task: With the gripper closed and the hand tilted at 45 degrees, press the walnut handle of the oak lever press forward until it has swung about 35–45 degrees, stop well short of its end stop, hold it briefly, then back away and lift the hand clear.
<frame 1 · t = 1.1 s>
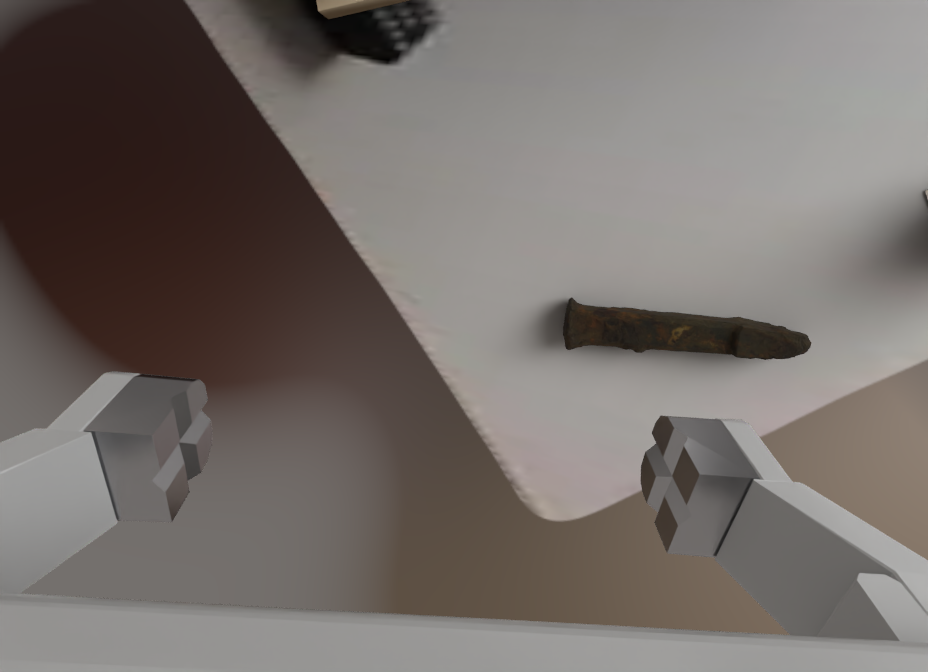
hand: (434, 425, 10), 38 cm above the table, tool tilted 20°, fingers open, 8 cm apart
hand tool: (677, 319, 46), on the table
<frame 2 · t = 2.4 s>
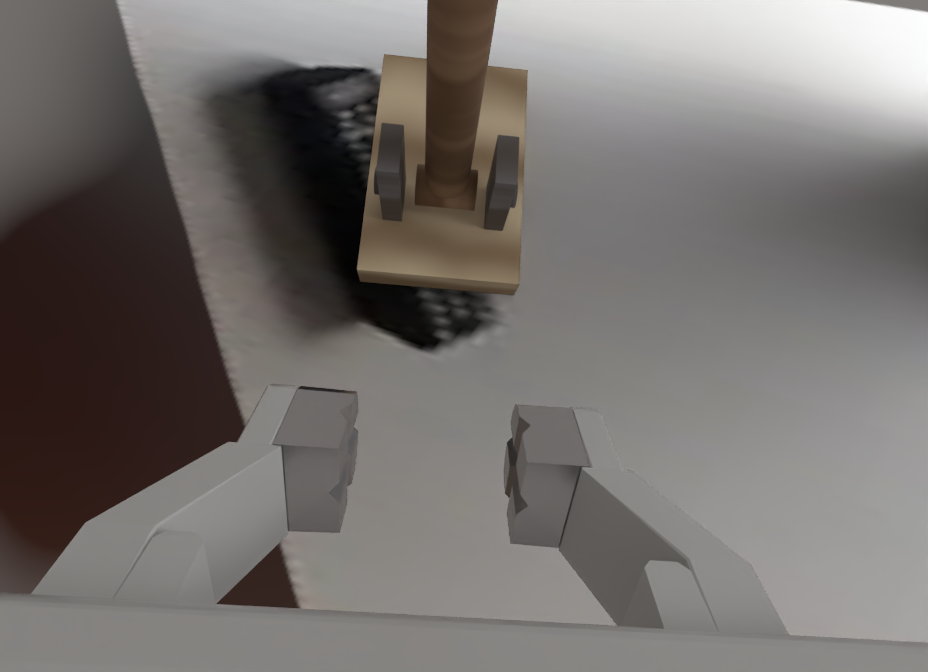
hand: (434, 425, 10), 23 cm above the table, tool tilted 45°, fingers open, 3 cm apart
lever: (457, 52, 23), point 15 cm above the table, hinge at 0.0°
press base: (443, 218, 37), on the table
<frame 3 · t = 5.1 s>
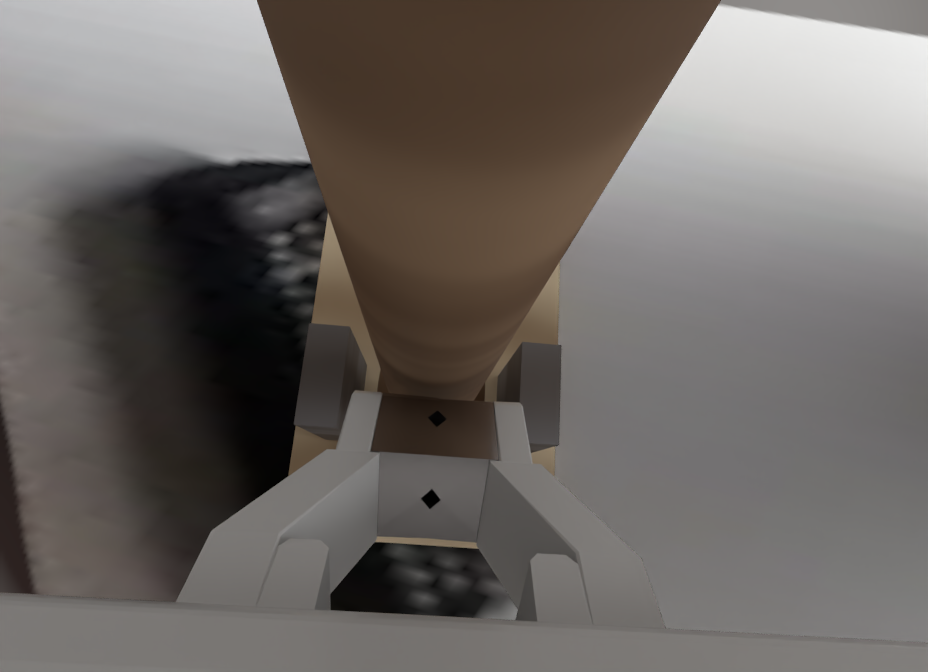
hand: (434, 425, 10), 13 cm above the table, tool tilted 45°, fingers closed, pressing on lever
lever: (441, 304, 9), point 15 cm above the table, hinge at 0.3°, touching gripper
press base: (428, 414, 23), on the table
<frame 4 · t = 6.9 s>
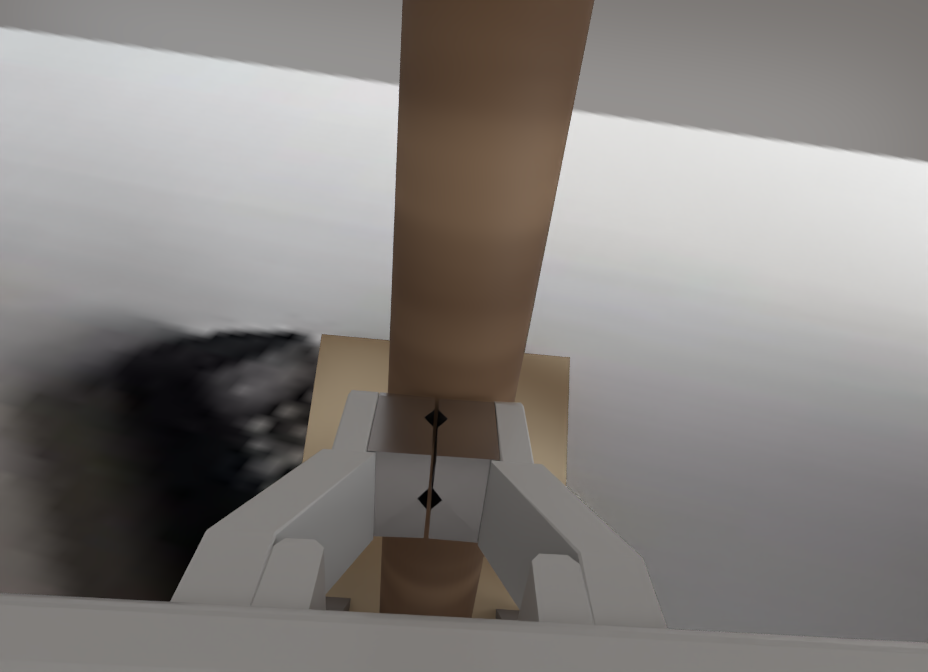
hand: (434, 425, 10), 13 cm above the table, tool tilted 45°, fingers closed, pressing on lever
lever: (449, 409, 11), point 12 cm above the table, hinge at 42.7°, touching gripper
press base: (420, 634, 21), on the table
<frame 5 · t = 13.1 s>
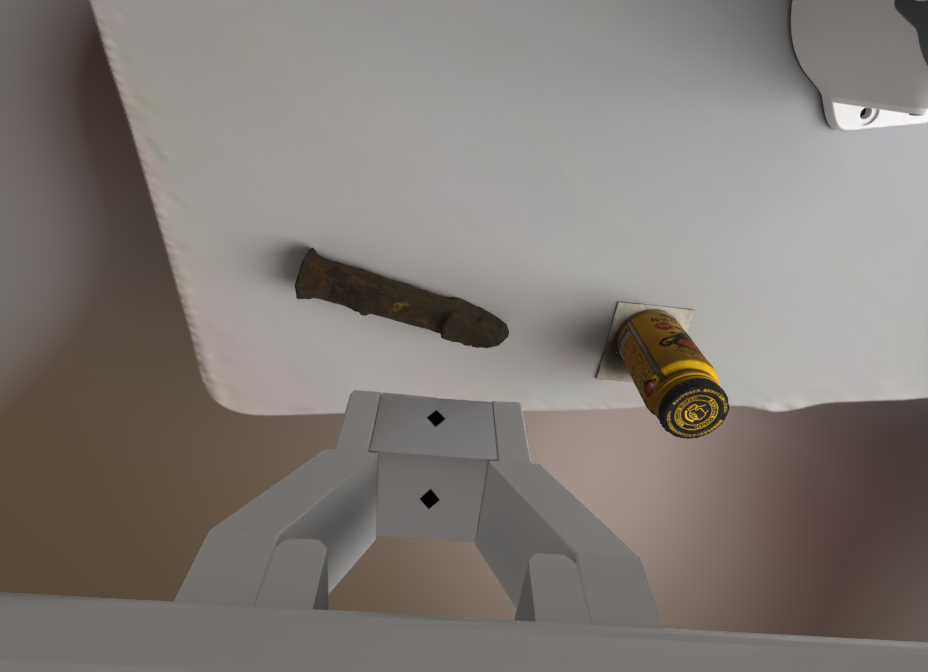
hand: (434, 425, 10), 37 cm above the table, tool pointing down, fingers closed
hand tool: (410, 288, 50), on the table
condiment: (642, 343, 52), on the table
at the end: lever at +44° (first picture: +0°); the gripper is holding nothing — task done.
